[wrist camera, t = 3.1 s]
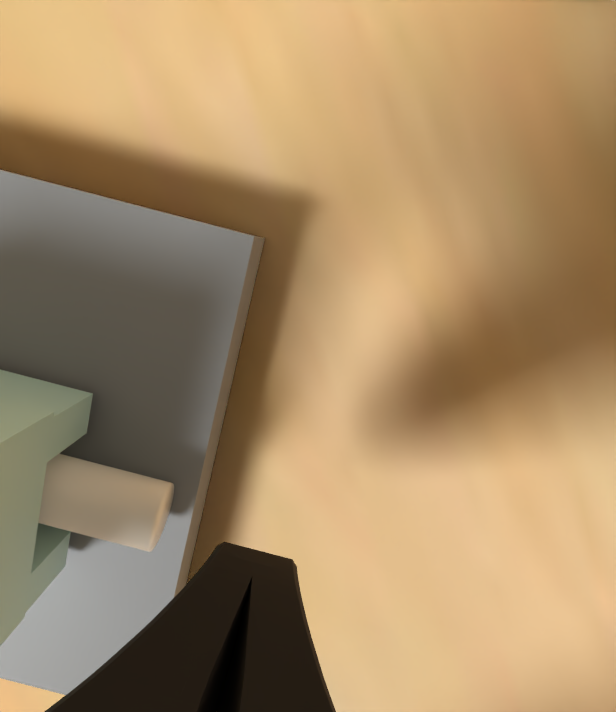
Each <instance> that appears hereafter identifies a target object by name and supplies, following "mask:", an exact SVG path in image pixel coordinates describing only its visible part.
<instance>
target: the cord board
mask: <svg viewBox="0 0 616 712" xmlns="http://www.w3.org/2000/svg"><path fill="white" fill-rule="evenodd" d="M264 240H265V238H263V237H259V236H255V235H251V234H247V233H243V232H240V231H236V230H232V229H228V228H224V227H220V226H217V225H213V224H209V223H205V222H201V221H197V220H194V219H190V218H186V217H182V216H178V215H174V214H171V213H167V212H163V211H159V210H155V209H151V208H148V207H144V206H140V205H136V204H132V203H128V202H125V201H121V200H117V199H113V198H109V197H105V196H102V195H98V194H94V193H90V192H86V191H82V190H79V189H75V188H71V187H67V186H63V185H59V184H56V183H52V182H48V181H44V180H40V179H36V178H33V177H29V176H25V175H21V174H17V173H13V172H10V171H6V170H2V169H0V369H1V370H4V371H8V372H12V373H16V374H20V375H24V376H27V377H31V378H35V379H39V380H43V381H47V382H51V383H54V384H58V385H62V386H66V387H70V388H74V389H78V390H81V391H85V392H89V393H93V397H92V403H91V409H90V416H89V422H88V428H87V433H86V434H85V435H83V436H82V437H81V438H79V439H78V440H77V441H75V442H74V443H73V444H71V445H70V446H69V447H67V448H66V449H64V450H63V451H62V452H60V453H59V454H63V455H67V456H70V457H74V458H78V459H82V460H86V461H90V462H94V463H97V464H101V465H105V466H109V467H113V468H117V469H121V470H124V471H128V472H132V473H136V474H140V475H144V476H148V477H151V478H155V479H159V480H163V481H167V482H171V483H173V484H174V495H173V500H172V505H171V508H170V512H169V515H168V518H167V521H166V524H165V527H164V529H163V532H162V534H161V536H160V538H159V540H158V542H157V544H156V546H155V547H154V549H153V550H152V551H151V552H148V551H144V550H140V549H137V548H133V547H129V546H125V545H121V544H117V543H113V542H109V541H106V540H102V539H98V538H94V537H90V536H86V535H82V534H79V533H75V532H71V534H70V540H69V546H68V552H67V559H66V565H65V567H64V568H63V569H62V570H61V572H60V573H59V574H58V575H57V576H56V577H55V579H54V580H53V581H52V582H51V583H50V585H49V586H48V587H47V588H46V589H45V590H44V592H43V593H42V594H41V595H40V596H39V597H38V599H37V600H36V601H35V602H34V603H33V604H32V606H31V607H30V608H29V609H28V610H27V612H26V613H25V617H24V619H23V620H22V621H21V622H20V623H19V624H18V626H17V627H16V628H15V629H14V630H13V632H12V633H11V634H10V635H9V636H8V638H7V639H6V640H5V641H4V642H3V643H2V645H1V646H0V678H2V679H6V680H10V681H14V682H18V683H21V684H25V685H29V686H33V687H37V688H41V689H45V690H49V691H52V692H56V693H60V694H64V695H67V694H68V693H69V692H71V691H72V690H73V689H74V688H76V687H77V686H78V685H79V684H81V683H82V682H83V681H84V680H85V679H87V678H88V677H89V676H90V675H91V674H93V673H94V672H95V671H96V670H97V669H99V668H100V667H101V666H102V665H103V664H104V663H106V662H107V661H108V660H109V659H110V658H111V657H112V656H113V655H115V654H116V653H117V652H118V651H119V650H120V649H121V648H122V647H123V646H124V645H126V644H127V643H128V642H129V641H130V640H131V639H132V638H133V637H134V636H135V635H137V634H138V633H139V632H140V631H141V630H142V629H143V628H144V627H145V626H146V625H147V624H149V623H150V622H151V621H152V620H153V619H154V618H155V617H156V616H157V615H158V614H159V613H160V612H161V611H162V609H163V608H164V607H165V606H166V605H167V604H168V603H169V602H170V601H171V600H172V599H173V598H174V597H175V596H176V595H177V594H178V593H179V592H180V591H181V590H182V589H183V588H184V587H185V586H186V583H187V579H188V574H189V570H190V565H191V561H192V557H193V552H194V548H195V543H196V539H197V535H198V530H199V526H200V521H201V517H202V513H203V508H204V504H205V499H206V495H207V491H208V486H209V482H210V477H211V473H212V469H213V464H214V460H215V455H216V451H217V447H218V442H219V438H220V434H221V429H222V425H223V420H224V416H225V412H226V407H227V403H228V398H229V394H230V390H231V385H232V381H233V376H234V372H235V368H236V363H237V359H238V354H239V350H240V346H241V341H242V337H243V332H244V328H245V324H246V319H247V315H248V310H249V306H250V302H251V297H252V293H253V288H254V284H255V280H256V275H257V271H258V266H259V262H260V258H261V253H262V249H263V244H264Z"/></svg>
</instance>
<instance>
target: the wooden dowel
mask: <svg viewBox="0 0 616 712" xmlns="http://www.w3.org/2000/svg"><path fill="white" fill-rule="evenodd" d="M173 495H174V484H173V483H171V482H167V481H163V480H159V479H155V478H151V477H148V476H144V475H140V474H136V473H132V472H128V471H124V470H121V469H117V468H113V467H109V466H105V465H101V464H97V463H94V462H90V461H86V460H82V459H78V458H74V457H70V456H67V455H63V454H58V455H56V456H55V457H54V458H52V459H51V460H50V461H48V462H47V466H46V473H45V480H44V487H43V494H42V501H41V508H40V515H39V522H38V523H40V524H44V525H48V526H52V527H55V528H59V529H63V530H67V531H71V532H75V533H79V534H82V535H86V536H90V537H94V538H98V539H102V540H106V541H109V542H113V543H117V544H121V545H125V546H129V547H133V548H137V549H140V550H144V551H148V552H151V551H152V550H153V549H154V547H155V546H156V544H157V542H158V540H159V538H160V536H161V534H162V532H163V529H164V527H165V524H166V521H167V518H168V515H169V512H170V508H171V505H172V500H173Z"/></svg>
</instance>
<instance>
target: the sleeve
mask: <svg viewBox="0 0 616 712" xmlns="http://www.w3.org/2000/svg"><path fill="white" fill-rule="evenodd" d="M92 397H93V393H89V392H85V391H81V390H78V389H74V388H70V387H66V386H62V385H58V384H54V383H51V382H47V381H43V380H39V379H35V378H31V377H27V376H24V375H20V374H16V373H12V372H8V371H4V370H1V369H0V646H1V645H2V643H3V642H4V641H5V640H6V639H7V638H8V636H9V635H10V634H11V633H12V632H13V630H14V629H15V628H16V627H17V626H18V624H19V623H20V622H21V621H22V620H23V619H24V617H25V613H26V612H27V610H28V609H29V608H30V607H31V606H32V604H33V603H34V602H35V601H36V600H37V599H38V597H39V596H40V595H41V594H42V593H43V592H44V590H45V589H46V588H47V587H48V586H49V585H50V583H51V582H52V581H53V580H54V579H55V577H56V576H57V575H58V574H59V573H60V572H61V570H62V569H63V568H64V567H65V565H66V559H67V552H68V546H69V540H70V534H71V531H67V530H63V529H59V528H55V527H52V526H48V525H44V524H40V523H38V522H39V515H40V508H41V501H42V494H43V487H44V480H45V473H46V466H47V462H48V461H50V460H51V459H52V458H54V457H55V456H56V455H58V454H59V453H60V452H62V451H63V450H64V449H66V448H67V447H69V446H70V445H71V444H73V443H74V442H75V441H77V440H78V439H79V438H81V437H82V436H83V435H85V434H86V433H87V428H88V422H89V416H90V409H91V403H92Z"/></svg>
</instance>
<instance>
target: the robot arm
mask: <svg viewBox="0 0 616 712" xmlns="http://www.w3.org/2000/svg"><path fill="white" fill-rule="evenodd" d="M216 711H217V712H336V711H335V708H334V705H333V703H332V700H331V697H330V695H329V692H328V689H327V686H326V683H325V680H324V677H323V674H322V671H321V667H320V664H319V661H318V657H317V654H316V651H315V648H314V644H313V641H312V638H311V634H310V630H309V627H308V623H307V619H306V615H305V611H304V606H303V602H302V598H301V593H300V587H299V582H298V575H297V567H296V565H295V563H294V561H293V560H292V559H288V558H285V557H281V556H277V555H273V554H269V553H265V552H261V551H258V550H254V549H250V548H246V547H242V546H238V545H235V544H231V543H227V542H224V543H222V544H220V545H218V546H217V547H216V548H215V550H214V551H213V553H212V554H211V556H210V557H209V558H208V560H207V561H206V562H205V563H204V565H203V566H202V567H201V568H200V570H199V571H198V572H197V573H196V574H195V575H194V577H193V578H192V579H191V580H190V581H189V582H188V583H187V584H186V586H185V587H184V588H183V589H182V590H181V591H180V592H179V593H178V594H177V595H176V596H175V597H174V598H173V599H172V600H171V601H170V602H169V603H168V604H167V605H166V606H165V607H164V608H163V609H162V611H161V612H160V613H159V614H158V615H157V616H156V617H155V618H154V619H153V620H152V621H151V622H150V623H149V624H147V625H146V626H145V627H144V628H143V629H142V630H141V631H140V632H139V633H138V634H137V635H135V636H134V637H133V638H132V639H131V640H130V641H129V642H128V643H127V644H126V645H124V646H123V647H122V648H121V649H120V650H119V651H118V652H117V653H116V654H115V655H113V656H112V657H111V658H110V659H109V660H108V661H107V662H106V663H104V664H103V665H102V666H101V667H100V668H99V669H97V670H96V671H95V672H94V673H93V674H91V675H90V676H89V677H88V678H87V679H85V680H84V681H83V682H82V683H81V684H79V685H78V686H77V687H76V688H74V689H73V690H72V691H71V692H69V693H68V694H67V695H66V696H64V697H63V698H62V699H60V700H59V701H58V702H57V703H55V704H54V705H53V706H51V707H50V708H49V709H48V710H46V711H45V712H216Z"/></svg>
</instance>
